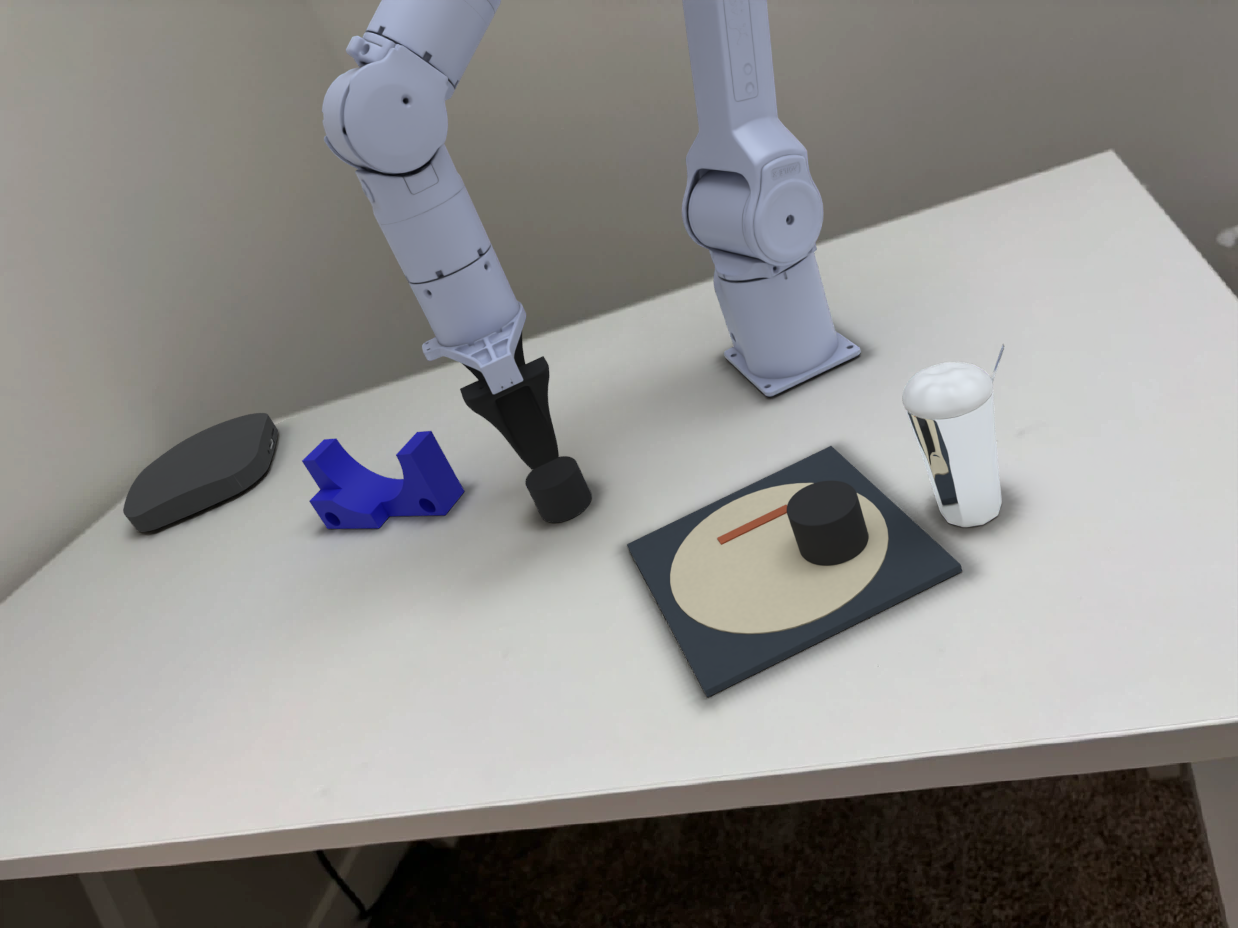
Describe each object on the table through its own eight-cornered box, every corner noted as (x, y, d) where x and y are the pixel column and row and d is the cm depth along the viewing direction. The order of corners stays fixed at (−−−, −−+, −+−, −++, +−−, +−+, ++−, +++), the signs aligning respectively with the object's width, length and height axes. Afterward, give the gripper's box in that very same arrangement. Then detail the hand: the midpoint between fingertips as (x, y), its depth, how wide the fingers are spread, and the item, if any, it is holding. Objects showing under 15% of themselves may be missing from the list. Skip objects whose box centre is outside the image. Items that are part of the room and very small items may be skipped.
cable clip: (327, 528, 80) (290, 472, 77) (358, 494, 83) (324, 439, 80) (435, 527, 73) (399, 466, 70) (464, 491, 76) (431, 430, 73)
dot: (788, 540, 56) (774, 500, 55) (848, 510, 56) (836, 470, 55) (818, 576, 53) (804, 535, 51) (882, 544, 53) (870, 503, 51)
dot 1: (536, 504, 71) (520, 472, 69) (584, 481, 71) (570, 448, 70) (546, 530, 67) (530, 497, 66) (597, 506, 68) (582, 473, 66)
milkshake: (1036, 526, 51) (1010, 368, 46) (932, 541, 53) (896, 391, 48) (1023, 475, 54) (998, 324, 49) (926, 491, 56) (892, 347, 51)
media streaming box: (128, 545, 91) (109, 522, 90) (162, 474, 104) (145, 452, 102) (268, 485, 91) (251, 460, 90) (284, 420, 104) (270, 398, 102)
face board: (628, 549, 62) (625, 541, 62) (832, 451, 63) (830, 442, 63) (707, 697, 49) (703, 688, 49) (962, 571, 50) (960, 561, 50)
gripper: (384, 259, 65) (468, 421, 72) (397, 323, 53) (497, 512, 60) (478, 217, 66) (552, 381, 73) (513, 271, 53) (598, 463, 60)
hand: (533, 437), depth 66 cm, fingers open, 7 cm apart
